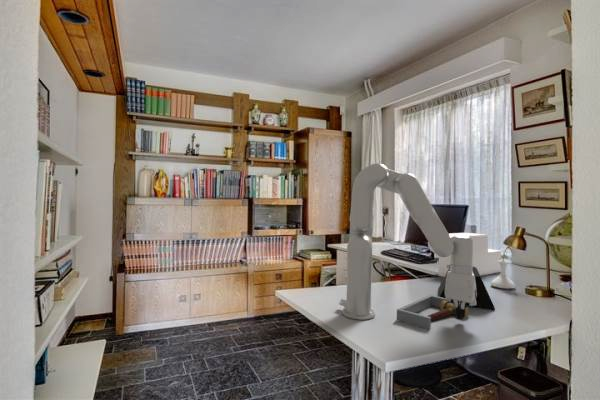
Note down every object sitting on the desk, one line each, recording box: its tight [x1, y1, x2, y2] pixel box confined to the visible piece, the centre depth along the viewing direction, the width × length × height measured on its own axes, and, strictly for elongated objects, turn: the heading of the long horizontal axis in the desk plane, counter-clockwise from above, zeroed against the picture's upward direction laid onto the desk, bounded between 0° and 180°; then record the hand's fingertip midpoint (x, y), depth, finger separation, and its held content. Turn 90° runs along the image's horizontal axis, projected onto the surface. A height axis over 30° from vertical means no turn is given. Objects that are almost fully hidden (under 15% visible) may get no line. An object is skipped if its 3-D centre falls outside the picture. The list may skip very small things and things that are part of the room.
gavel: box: [427, 300, 470, 323], centre depth 134 cm, size 21×5×10 cm
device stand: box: [437, 267, 496, 311], centre depth 159 cm, size 22×22×15 cm
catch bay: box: [396, 294, 453, 330], centre depth 137 cm, size 12×29×4 cm, turn 136°
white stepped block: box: [433, 232, 503, 278], centre depth 216 cm, size 45×18×25 cm, turn 121°
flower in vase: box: [490, 245, 516, 289], centre depth 182 cm, size 13×11×25 cm
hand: (460, 318), depth 128 cm, fingers closed
